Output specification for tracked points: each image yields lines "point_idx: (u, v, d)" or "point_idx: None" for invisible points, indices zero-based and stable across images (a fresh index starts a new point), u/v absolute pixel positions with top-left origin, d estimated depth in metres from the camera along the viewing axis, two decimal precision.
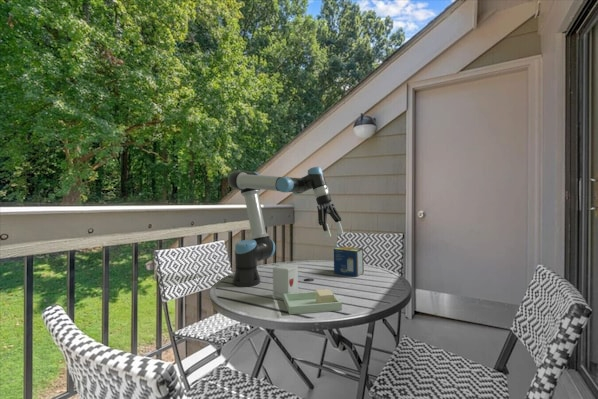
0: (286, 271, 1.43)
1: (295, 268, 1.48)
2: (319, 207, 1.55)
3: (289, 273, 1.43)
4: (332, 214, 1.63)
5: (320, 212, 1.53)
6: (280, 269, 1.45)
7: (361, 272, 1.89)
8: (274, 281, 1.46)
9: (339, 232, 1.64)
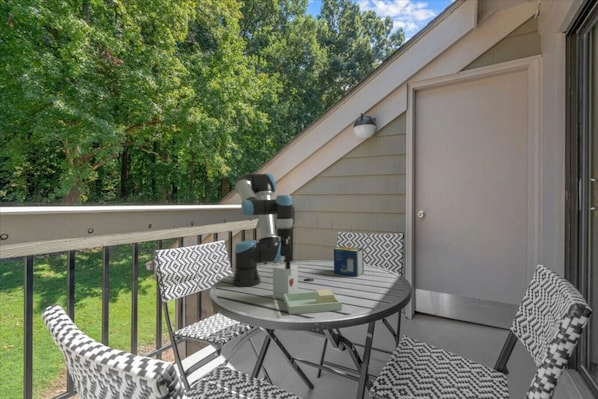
0: None
1: (295, 268, 1.48)
2: (287, 242, 1.41)
3: None
4: (284, 248, 1.52)
5: (288, 248, 1.40)
6: (280, 269, 1.45)
7: (361, 272, 1.88)
8: (274, 281, 1.46)
9: None
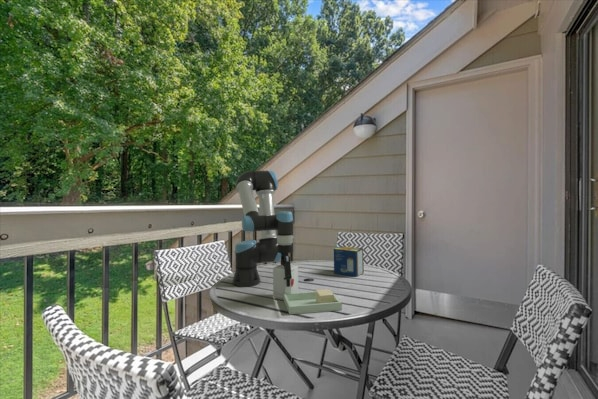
0: None
1: (295, 268, 1.47)
2: (287, 259, 1.41)
3: None
4: None
5: (288, 265, 1.41)
6: (280, 269, 1.44)
7: (361, 272, 1.88)
8: (274, 281, 1.46)
9: None
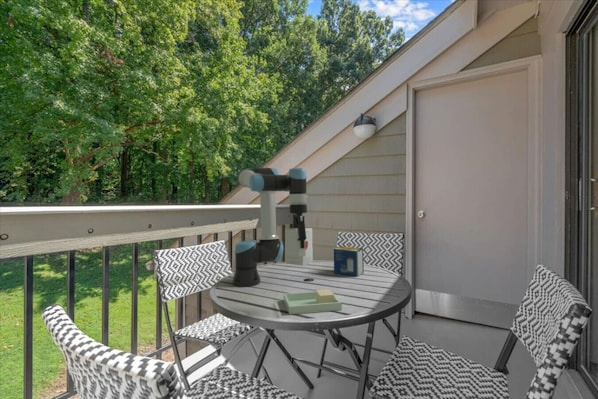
0: None
1: (309, 230, 1.35)
2: (301, 219, 1.29)
3: None
4: None
5: (302, 225, 1.28)
6: (293, 231, 1.32)
7: (361, 272, 1.88)
8: (287, 244, 1.34)
9: None
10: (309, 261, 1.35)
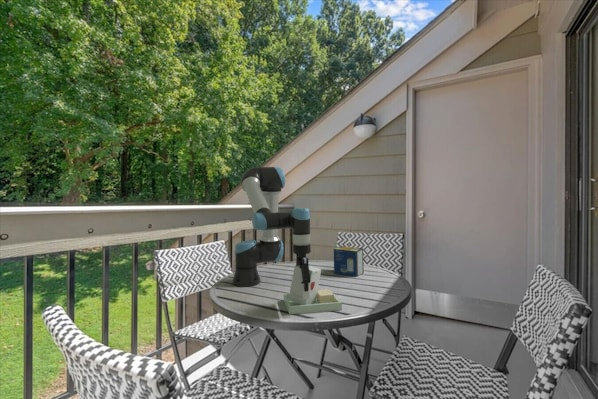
0: (309, 273, 1.29)
1: (318, 271, 1.34)
2: (305, 261, 1.28)
3: (312, 275, 1.30)
4: None
5: (306, 268, 1.27)
6: None
7: (361, 272, 1.88)
8: (293, 281, 1.33)
9: None
10: (312, 302, 1.33)
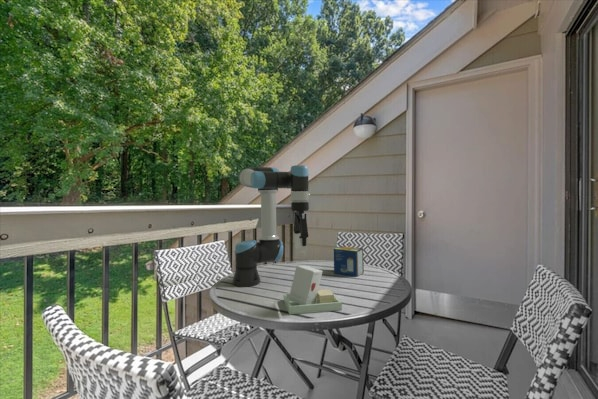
0: (311, 273, 1.30)
1: (320, 273, 1.34)
2: (303, 216, 1.28)
3: (313, 276, 1.30)
4: (299, 224, 1.38)
5: (304, 223, 1.27)
6: (304, 269, 1.31)
7: (361, 272, 1.88)
8: (294, 281, 1.33)
9: (297, 246, 1.41)
10: (312, 303, 1.33)
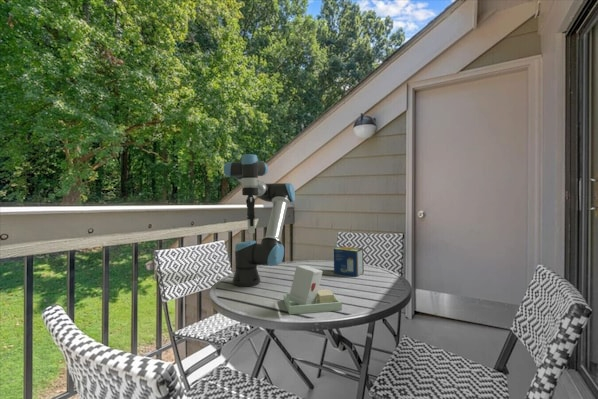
0: (311, 274, 1.30)
1: (320, 273, 1.34)
2: (251, 199, 1.42)
3: (313, 276, 1.30)
4: None
5: (251, 205, 1.42)
6: (304, 270, 1.31)
7: (361, 272, 1.88)
8: (294, 281, 1.33)
9: None
10: (312, 303, 1.33)
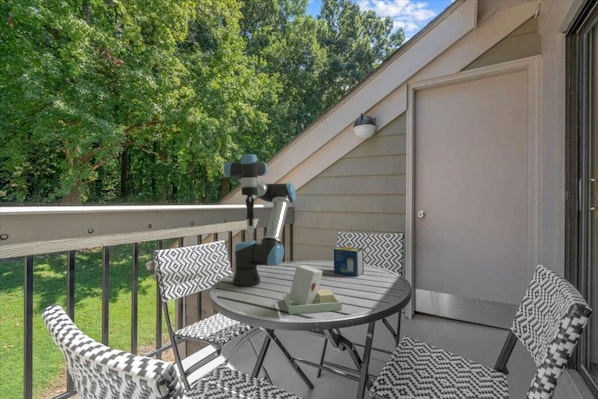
0: (311, 274, 1.29)
1: (320, 273, 1.34)
2: (250, 199, 1.43)
3: (313, 277, 1.30)
4: None
5: (251, 205, 1.42)
6: (304, 270, 1.31)
7: (361, 272, 1.88)
8: (294, 281, 1.33)
9: None
10: (312, 303, 1.33)
